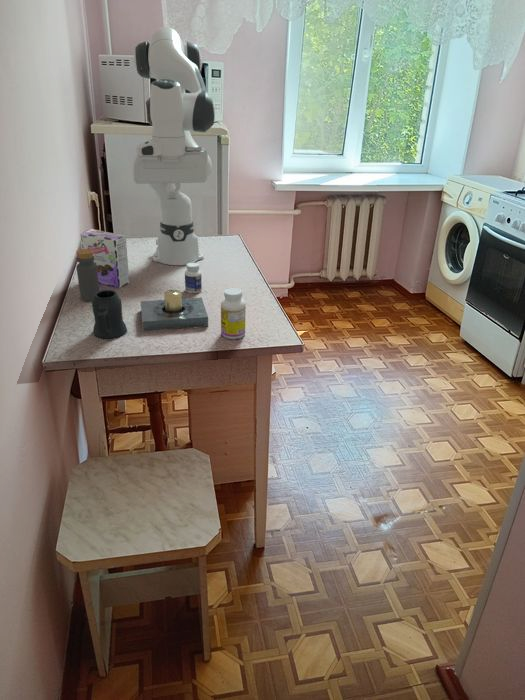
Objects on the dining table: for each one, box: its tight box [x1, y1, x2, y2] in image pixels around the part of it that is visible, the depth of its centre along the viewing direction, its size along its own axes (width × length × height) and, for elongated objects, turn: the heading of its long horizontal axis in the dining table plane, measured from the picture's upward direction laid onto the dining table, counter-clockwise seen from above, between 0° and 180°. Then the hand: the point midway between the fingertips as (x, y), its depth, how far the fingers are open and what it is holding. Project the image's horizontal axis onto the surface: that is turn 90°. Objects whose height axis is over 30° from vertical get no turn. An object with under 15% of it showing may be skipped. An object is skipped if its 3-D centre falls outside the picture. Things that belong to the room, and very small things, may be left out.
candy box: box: [80, 228, 131, 289], centre depth 173 cm, size 14×6×16 cm, turn 65°
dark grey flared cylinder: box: [91, 289, 128, 340], centre depth 141 cm, size 12×9×11 cm
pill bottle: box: [184, 262, 203, 294], centre depth 170 cm, size 5×5×9 cm
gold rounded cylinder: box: [163, 289, 183, 314], centre depth 152 cm, size 5×5×8 cm
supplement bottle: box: [220, 287, 247, 340], centre depth 143 cm, size 7×7×13 cm
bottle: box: [75, 248, 101, 303], centre depth 161 cm, size 6×6×15 cm
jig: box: [140, 297, 209, 332], centre depth 153 cm, size 14×18×3 cm
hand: (171, 199), depth 150 cm, fingers closed
